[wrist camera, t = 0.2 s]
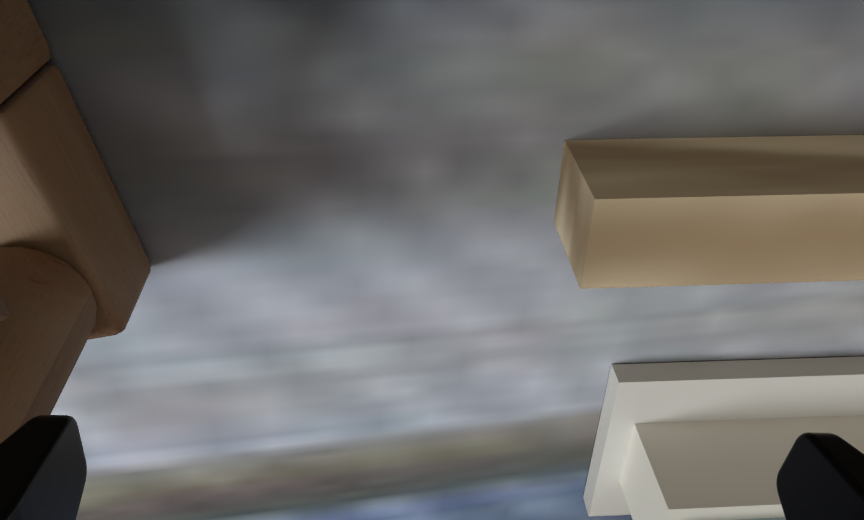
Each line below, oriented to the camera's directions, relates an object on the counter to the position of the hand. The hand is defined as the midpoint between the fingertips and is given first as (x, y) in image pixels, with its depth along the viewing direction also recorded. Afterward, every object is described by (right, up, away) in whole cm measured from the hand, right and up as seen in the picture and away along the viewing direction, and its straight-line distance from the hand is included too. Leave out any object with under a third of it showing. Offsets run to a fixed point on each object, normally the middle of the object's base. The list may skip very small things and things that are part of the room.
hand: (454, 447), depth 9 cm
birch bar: (+14, +5, +15) cm, 21 cm away
